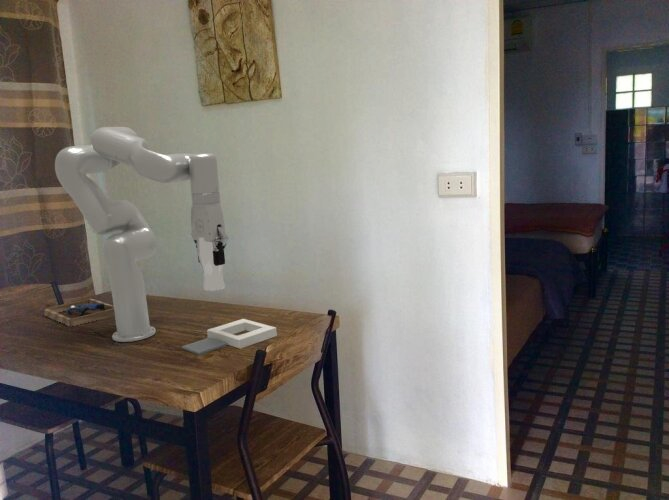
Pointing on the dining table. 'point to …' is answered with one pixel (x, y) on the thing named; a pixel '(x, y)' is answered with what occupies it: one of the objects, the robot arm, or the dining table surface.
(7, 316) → the dining table surface
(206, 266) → the beer glass
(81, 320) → the frame
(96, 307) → the person figurine
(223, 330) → the holder board
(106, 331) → the dining table surface
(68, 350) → the dining table surface
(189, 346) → the coaster
